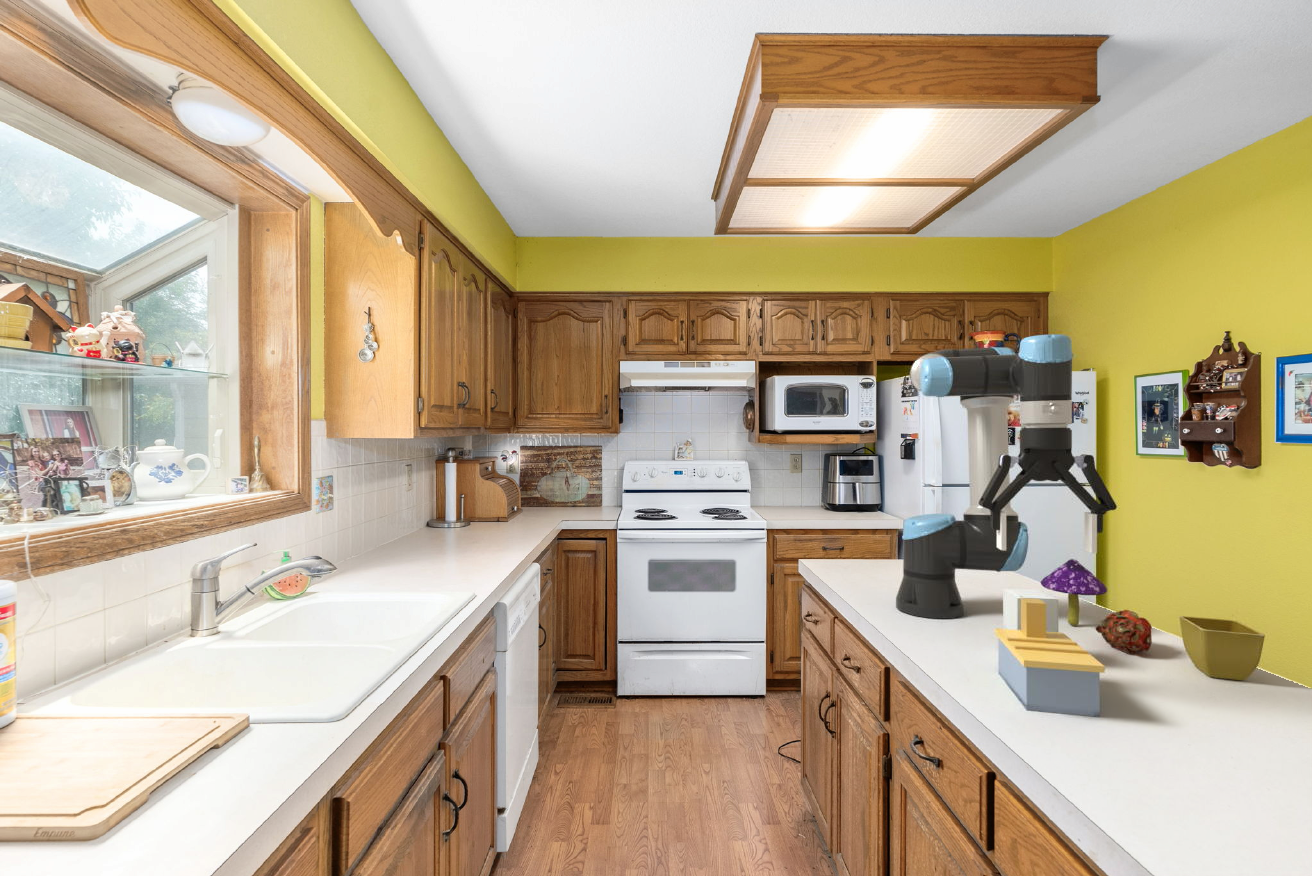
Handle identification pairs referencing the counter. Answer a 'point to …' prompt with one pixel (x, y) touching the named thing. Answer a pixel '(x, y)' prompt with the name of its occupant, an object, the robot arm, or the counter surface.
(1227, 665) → the flower pot
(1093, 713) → the tub
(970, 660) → the counter surface
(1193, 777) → the counter surface
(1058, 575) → the decorative mushroom
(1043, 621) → the lid
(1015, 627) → the supplement box
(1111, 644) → the dragon fruit
